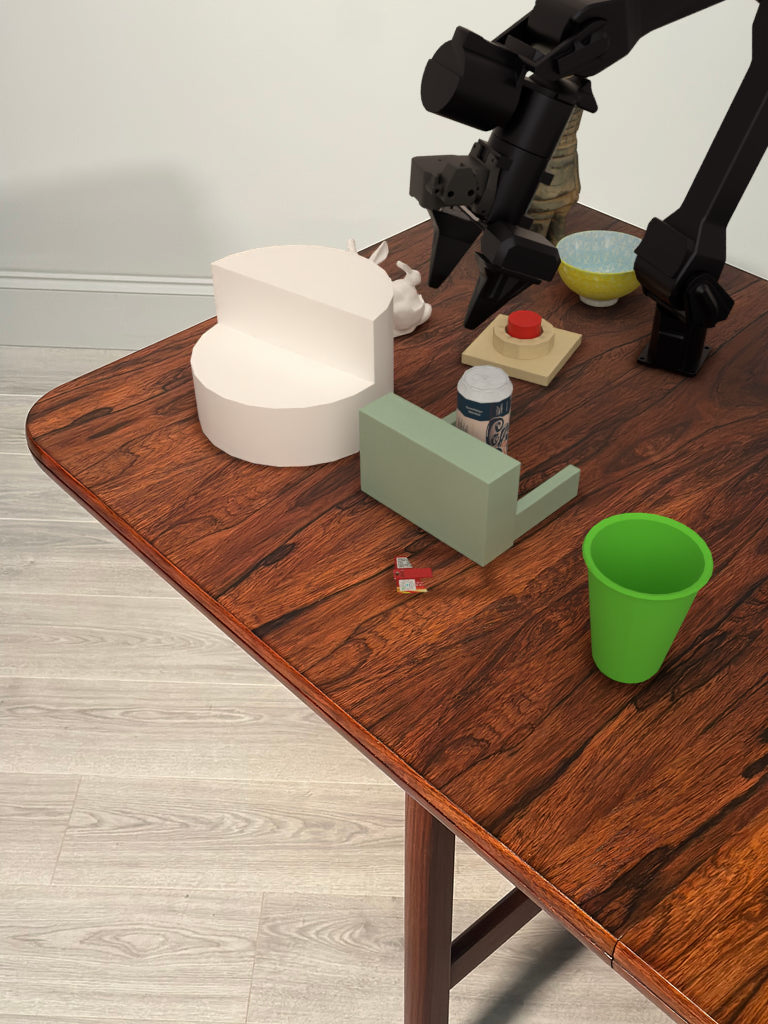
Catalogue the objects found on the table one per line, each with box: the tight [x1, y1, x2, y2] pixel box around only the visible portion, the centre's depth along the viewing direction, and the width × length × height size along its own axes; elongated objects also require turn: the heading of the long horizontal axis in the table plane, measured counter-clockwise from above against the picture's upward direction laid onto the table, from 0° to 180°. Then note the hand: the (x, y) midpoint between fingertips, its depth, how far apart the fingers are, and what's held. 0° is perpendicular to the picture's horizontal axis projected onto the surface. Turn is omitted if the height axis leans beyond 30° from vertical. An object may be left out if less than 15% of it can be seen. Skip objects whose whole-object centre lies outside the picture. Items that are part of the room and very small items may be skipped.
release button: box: [507, 309, 543, 339], centre depth 113 cm, size 4×4×2 cm
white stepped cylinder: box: [190, 244, 395, 468], centre depth 103 cm, size 20×20×13 cm
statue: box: [520, 75, 589, 247], centre depth 125 cm, size 11×9×30 cm
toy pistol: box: [392, 555, 434, 595], centre depth 88 cm, size 8×1×5 cm
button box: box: [461, 313, 583, 387], centre depth 114 cm, size 10×10×3 cm
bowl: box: [556, 230, 643, 308], centre depth 123 cm, size 11×12×6 cm
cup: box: [581, 512, 714, 684], centre depth 77 cm, size 9×9×11 cm
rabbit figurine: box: [346, 238, 433, 339], centre depth 117 cm, size 12×8×10 cm, turn 103°
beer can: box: [456, 365, 514, 455], centre depth 93 cm, size 5×5×12 cm
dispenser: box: [359, 392, 582, 568], centre depth 93 cm, size 14×15×9 cm
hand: (449, 307), depth 97 cm, fingers open, 9 cm apart
